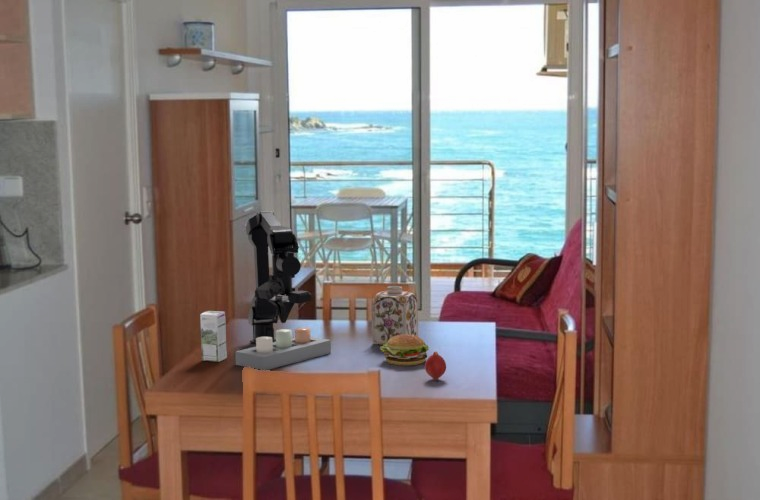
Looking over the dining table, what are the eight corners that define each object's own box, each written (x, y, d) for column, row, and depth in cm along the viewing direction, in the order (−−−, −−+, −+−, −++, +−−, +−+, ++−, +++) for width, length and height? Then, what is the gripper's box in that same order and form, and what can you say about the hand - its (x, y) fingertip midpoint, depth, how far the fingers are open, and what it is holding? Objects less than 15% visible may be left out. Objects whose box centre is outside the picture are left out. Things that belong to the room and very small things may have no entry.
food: (373, 359, 305) (372, 333, 304) (415, 354, 311) (415, 328, 310) (392, 369, 293) (391, 342, 292) (436, 364, 298) (435, 337, 297)
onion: (423, 377, 283) (423, 349, 282) (444, 376, 284) (444, 348, 283) (426, 382, 277) (426, 353, 276) (447, 382, 278) (447, 353, 277)
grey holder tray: (235, 364, 301) (235, 351, 300) (303, 347, 322) (302, 335, 321) (264, 370, 293) (263, 357, 292) (330, 352, 314) (330, 340, 313)
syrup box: (227, 358, 309) (225, 310, 307) (218, 362, 304) (216, 314, 302) (210, 356, 311) (209, 309, 309) (201, 361, 306) (199, 313, 304)
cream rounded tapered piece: (253, 360, 301) (252, 338, 300) (265, 357, 304) (264, 335, 304) (264, 362, 298) (263, 340, 297) (276, 359, 301) (275, 337, 301)
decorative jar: (371, 344, 325) (370, 288, 323) (385, 337, 336) (384, 283, 333) (406, 347, 321) (406, 290, 318) (419, 339, 331) (418, 284, 329)
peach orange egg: (292, 350, 313) (291, 329, 312) (303, 347, 317) (302, 326, 316) (303, 352, 310) (302, 331, 309) (314, 349, 313) (313, 328, 313)
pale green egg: (272, 352, 307) (272, 331, 306) (284, 349, 310) (283, 328, 310) (284, 354, 304) (283, 333, 303) (295, 351, 307) (295, 330, 306)
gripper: (240, 271, 304) (242, 323, 306) (284, 277, 292) (285, 331, 294) (267, 267, 312) (269, 317, 314) (311, 272, 300) (312, 325, 302)
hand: (283, 322), depth 306 cm, fingers closed
